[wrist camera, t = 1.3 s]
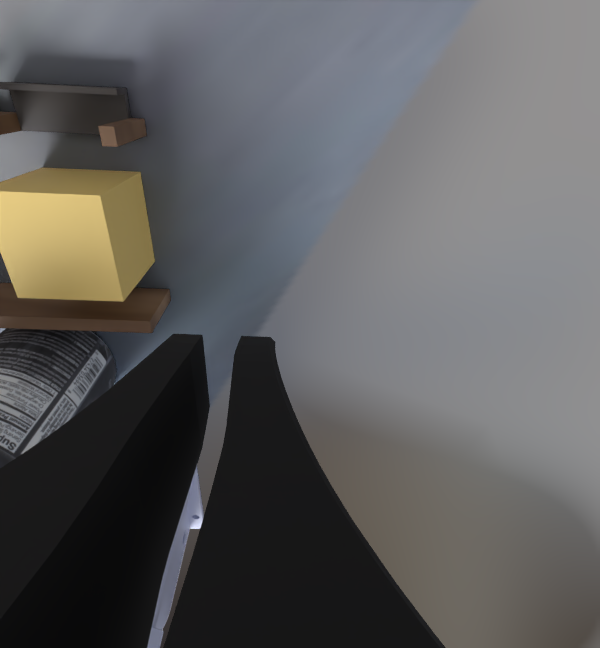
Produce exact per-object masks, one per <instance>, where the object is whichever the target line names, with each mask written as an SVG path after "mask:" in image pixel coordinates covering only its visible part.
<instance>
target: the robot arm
mask: <svg viewBox="0 0 600 648" xmlns="http://www.w3.org/2000/svg"><path fill="white" fill-rule="evenodd" d="M209 407H210V404H209V394H208V385H207V375H206V365H205V356H204V346H203V337H202V335H191V334H173V335H172V336H171V337H169V338H168V339H167V340H166V341H165V342H163V343H162V344H161V345H160V346H159V347H158V348H157V349H155V350H154V351H153V352H152V353H151V354H150V355H149V356H147V357H146V358H145V359H144V360H143V361H142V362H141V363H139V364H138V365H137V366H136V367H135V368H134V369H132V370H131V371H130V372H129V373H128V374H127V375H125V376H124V377H123V378H122V379H121V380H119V381H118V382H117V383H116V384H115V385H114V386H112V387H111V388H110V389H109V390H108V391H106V392H105V393H104V394H103V395H101V396H100V397H99V398H98V399H96V400H95V401H94V402H92V403H91V404H90V405H88V406H87V407H86V408H85V409H83V410H82V411H81V412H79V413H78V414H77V415H75V416H74V417H73V418H71V419H70V420H69V421H68V422H66V423H65V424H64V425H62V426H61V427H60V428H58V429H57V430H56V431H54V432H53V433H52V434H50V435H49V436H47V437H46V438H45V439H43V440H42V441H40V442H39V443H37V444H36V445H35V446H33V447H32V448H30V449H29V450H27V451H26V452H24V453H23V454H21V455H20V456H18V457H17V458H15V459H14V460H12V461H11V462H9V463H8V464H6V465H5V466H3V467H2V468H0V648H160V644H161V640H162V636H163V630H162V629H163V627H164V625H165V623H166V621H167V618H168V615H169V613H170V609H171V605H172V600H173V596H174V592H175V588H176V584H177V580H178V575H179V571H180V567H181V563H182V559H183V554H184V550H185V546H186V542H187V538H188V534H189V529H200V532H199V536H198V539H197V542H196V546H195V549H194V552H193V556H192V559H191V562H190V565H189V568H188V571H187V575H186V578H185V581H184V584H183V587H182V590H181V594H180V597H179V600H178V604H177V606H176V610H175V613H174V616H173V619H172V622H171V625H170V629H169V632H168V635H167V638H166V641H165V644H164V647H163V648H445V646H444V645H443V644H442V643H441V641H440V640H439V639H438V638H437V636H436V635H435V634H434V633H433V631H432V630H431V629H430V627H429V626H428V625H427V623H426V622H425V621H424V619H423V618H422V617H421V615H420V614H419V613H418V611H417V610H416V609H415V607H414V606H413V605H412V603H411V602H410V601H409V599H408V598H407V597H406V596H405V594H404V593H403V592H402V590H401V589H400V588H399V586H398V585H397V584H396V582H395V581H394V579H393V578H392V577H391V575H390V574H389V572H388V571H387V569H386V568H385V566H384V565H383V563H382V562H381V561H380V559H379V558H378V556H377V555H376V553H375V552H374V550H373V549H372V548H371V546H370V545H369V543H368V542H367V540H366V539H365V537H364V536H363V535H362V533H361V532H360V530H359V529H358V527H357V526H356V525H355V523H354V522H353V520H352V518H351V517H350V515H349V514H348V512H347V510H346V509H345V508H344V506H343V504H342V502H341V501H340V499H339V497H338V496H337V494H336V493H335V491H334V489H333V488H332V486H331V484H330V482H329V481H328V479H327V477H326V475H325V474H324V472H323V470H322V469H321V467H320V465H319V463H318V461H317V459H316V457H315V455H314V453H313V451H312V450H311V448H310V446H309V444H308V441H307V440H306V437H305V435H304V433H303V431H302V429H301V427H300V425H299V422H298V420H297V418H296V415H295V413H294V411H293V408H292V406H291V403H290V401H289V398H288V395H287V393H286V390H285V387H284V384H283V381H282V378H281V375H280V371H279V367H278V364H277V359H276V353H275V341H274V340H273V339H272V338H271V337H251V336H241V339H240V341H239V343H238V346H237V349H236V351H235V354H234V362H233V371H232V380H231V390H230V400H229V409H228V417H227V427H226V432H225V438H224V444H223V448H222V452H221V456H220V460H219V463H218V467H217V471H216V475H215V478H214V483H213V486H212V490H211V494H210V497H209V501H208V504H207V507H206V511H205V514H204V512H203V505H202V498H201V491H200V485H199V477H198V471H197V463H198V460H199V456H200V453H201V450H202V445H203V440H204V435H205V430H206V424H207V419H208V413H209Z"/></svg>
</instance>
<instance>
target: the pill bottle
mask: <svg viewBox="0 0 600 648" xmlns="http://www.w3.org/2000/svg"><path fill="white" fill-rule="evenodd" d="M116 373H117V371H116V364H115V360H114V357H113V355H112V353H111V351H110V350H109V348H108V347H107V346H106V344H105V343H104V342H103V341H102V340H101V339H100V338H99V337H98V336H97V335H95V334H94V333H93V332H91V331H75V330H46V329H16V328H6V329H5V330H4V331H3V332H1V333H0V468H2V467H3V466H5V465H6V464H8V463H9V462H11V461H12V460H14V459H15V458H17V457H18V456H20V455H21V454H23V453H24V452H26V451H27V450H29V449H30V448H32V447H33V446H35V445H36V444H37V443H39V442H40V441H42V440H43V439H45V438H46V437H47V436H49V435H50V434H52V433H53V432H54V431H56V430H57V429H58V428H60V427H61V426H62V425H64V424H65V423H66V422H68V421H69V420H70V419H71V418H73V417H74V416H75V415H77V414H78V413H79V412H81V411H82V410H83V409H85V408H86V407H87V406H88V405H90V404H91V403H92V402H94V401H95V400H96V399H98V398H99V397H100V396H101V395H103V394H104V393H105V392H106V391H108V390H109V389H110V388H111V387H112V386H113V385H114V382H115V378H116Z"/></svg>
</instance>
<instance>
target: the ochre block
mask: <svg viewBox="0 0 600 648" xmlns="http://www.w3.org/2000/svg"><path fill="white" fill-rule="evenodd" d="M0 252H1V255H2V258H3V260H4V263H5V266H6V268H7V271H8V274H9V276H10V279H11V281H12V284H13V287H14V289H15V292H16V295H17V297H18V298H36V299H65V300H93V301H121V302H124V300H125V299H126V298H127V297H128V295H129V294H130V293H131V291H132V290H133V289H134V288H135V286H136V285H137V284H138V282H139V281H140V280H141V279H142V277H143V276H144V275H145V274H146V272H147V271H148V270H149V268H150V267H151V266H152V265H153V263H154V262H155V258H154V252H153V246H152V240H151V234H150V228H149V221H148V215H147V209H146V203H145V197H144V191H143V185H142V179H141V172H133V171H110V170H87V169H64V168H40V169H37V170H34V171H31V172H28V173H25V174H23V175H20V176H17V177H14V178H11V179H8V180H5V181H2V182H0Z"/></svg>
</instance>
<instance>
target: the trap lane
mask: <svg viewBox="0 0 600 648" xmlns="http://www.w3.org/2000/svg"><path fill="white" fill-rule="evenodd" d="M0 89H8V90H9V91H10V94H11V97H12V101H13V104H14V107H15V111H16V112H0V135H1V134H7V133H12V132H17V131H39V132H60V133H80V134H100V137H101V142H102V146H111V147H118V146H121V145H124V144H126V143H129V142H131V141H134V140H137V139H139V138H142V137H145V136H147V133H146V127H145V120H144V119H142V118H131V113H130V107H129V101H128V94H127V88H118V87H98V86H79V85H60V84H40V83H21V82H0ZM170 301H171V297H170V290H169V289H155V288H134V289H133V290H132V291H131V293H130V294H129V295H128V297H127V298H126V299H125V300H124V302H121V301H93V300H65V299H36V298H18V297H17V295H16V292H15V289H14V287H13V284H12V283H0V328H16V329H46V330H75V331H105V332H135V333H152V332H153V330H154V329H155V327H156V325H157V323H158V322H159V320H160V318H161V316H162V315H163V313H164V311H165V309H166V308H167V306H168V304H169V302H170Z"/></svg>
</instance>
